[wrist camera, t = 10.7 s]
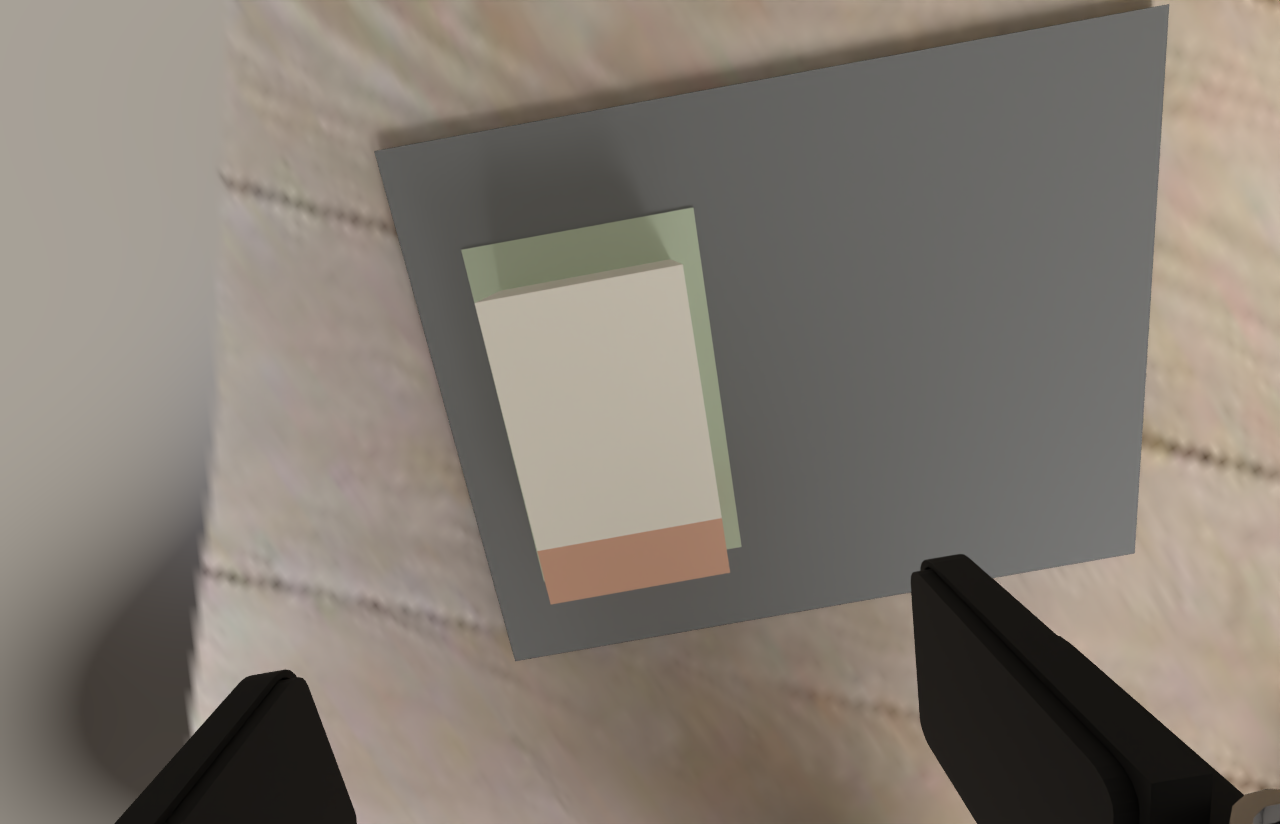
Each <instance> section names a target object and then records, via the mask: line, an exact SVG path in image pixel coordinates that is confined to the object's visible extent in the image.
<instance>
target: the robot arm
mask: <svg viewBox="0 0 1280 824" xmlns="http://www.w3.org/2000/svg"><path fill="white" fill-rule="evenodd" d="M911 595H912V610H913V624H914V639H915V654H916V668H917V683H918V698H919V712H920V722H921V726H922V730H923V733H924V736H925V738H926V741H927V743H928V745H929V747H930V748H931V750H932V752H933V753H934V755H935V756H936V758H937V760H938V761H939V763H940V765H941V766H942V768H943V769H944V771H945V773H946V774H947V776H948V777H949V779H950V781H951V782H952V784H953V785H954V787H955V789H956V790H957V792H958V794H959V795H960V797H961V798H962V800H963V802H964V803H965V805H966V806H967V808H968V810H969V811H970V813H971V814H972V816H973V818H974V819H975V821H976V823H977V824H1280V789H1265V790H1261V791H1257V792H1253V793H1249V794H1245V795H1243V794H1242V793H1241V792H1240V791H1239V790H1238V789H1236V788H1235V787H1234V786H1233V785H1232V784H1231V783H1230V782H1228V781H1227V780H1226V779H1225V778H1224V777H1223V776H1222V775H1220V774H1219V773H1218V772H1217V771H1216V770H1215V769H1214V768H1212V767H1211V766H1210V765H1209V764H1208V763H1207V762H1206V761H1204V760H1203V759H1202V758H1201V757H1200V756H1199V755H1198V754H1196V753H1195V752H1194V751H1193V750H1192V749H1191V748H1190V747H1188V746H1187V745H1186V744H1185V743H1184V742H1183V741H1182V740H1180V739H1179V738H1178V737H1177V736H1176V735H1175V734H1173V733H1172V732H1171V731H1170V730H1169V729H1168V728H1167V727H1165V726H1164V725H1163V724H1162V723H1161V722H1160V721H1159V720H1157V719H1156V718H1155V717H1154V716H1153V715H1152V714H1151V713H1149V712H1148V711H1147V710H1146V709H1145V708H1144V707H1143V706H1141V705H1140V704H1139V703H1138V702H1137V701H1136V700H1135V699H1133V698H1132V697H1131V696H1130V695H1129V694H1128V693H1127V692H1125V691H1124V690H1123V689H1122V688H1121V687H1120V686H1119V685H1117V684H1116V683H1115V682H1114V681H1113V680H1112V679H1111V678H1109V677H1108V676H1107V675H1106V674H1105V673H1104V672H1103V671H1101V670H1100V669H1099V668H1098V667H1097V666H1096V665H1095V664H1093V663H1092V662H1091V661H1090V660H1089V659H1088V658H1087V657H1085V656H1084V655H1083V654H1082V653H1081V652H1080V651H1078V650H1077V649H1076V648H1075V647H1074V646H1073V645H1072V644H1070V643H1069V642H1068V641H1066V640H1065V639H1063V638H1062V637H1060V636H1057V635H1056V634H1055V633H1054V632H1053V631H1052V630H1050V629H1049V628H1048V627H1047V626H1046V625H1045V624H1044V623H1043V622H1041V621H1040V620H1039V619H1038V618H1037V617H1036V616H1035V615H1033V614H1032V613H1031V612H1030V611H1029V610H1028V609H1027V608H1026V607H1024V606H1023V605H1022V604H1021V603H1020V602H1019V601H1018V600H1016V599H1015V598H1014V597H1013V596H1012V595H1011V594H1010V593H1009V592H1007V591H1006V590H1005V589H1004V588H1003V587H1002V586H1001V585H999V584H998V583H997V582H996V581H995V580H994V579H993V578H992V577H990V576H989V575H988V574H987V573H986V572H985V571H984V570H982V569H981V568H980V567H979V566H978V565H977V564H976V563H974V562H973V561H972V560H971V559H970V558H969V557H967V556H966V555H964V554H956V555H950V556H944V557H939V558H933V559H927V560H924V561H923V562H922V564H921V567H920V571H916V572H913V573H912V575H911ZM115 824H357V822H356V814H355V811H354V808H353V805H352V803H351V800H350V797H349V794H348V792H347V789H346V786H345V784H344V781H343V778H342V776H341V773H340V770H339V768H338V765H337V762H336V760H335V757H334V754H333V751H332V749H331V746H330V743H329V741H328V738H327V735H326V733H325V730H324V727H323V725H322V722H321V719H320V717H319V714H318V711H317V708H316V706H315V703H314V700H313V698H312V695H311V692H310V690H309V687H308V685H307V683H306V681H305V680H304V679H303V678H299V677H298V678H297V677H296V675H295V674H294V673H293V672H292V671H290V670H280V671H275V672H269V673H263V674H257V675H252V676H248V677H246V678H244V679H243V680H242V681H241V682H240V683H239V684H238V685H237V686H236V687H235V688H234V690H233V691H232V692H231V693H230V694H229V695H228V696H227V697H226V699H225V700H224V701H223V702H222V703H221V704H220V705H219V706H218V708H217V709H216V710H215V711H214V712H213V713H212V714H211V716H210V717H209V718H208V719H207V720H206V721H205V722H204V723H203V725H202V726H201V727H200V728H199V729H198V730H197V731H196V732H195V734H194V735H193V736H192V737H191V738H190V739H189V740H188V741H187V743H186V744H185V745H184V746H183V747H182V748H181V749H180V751H179V752H178V753H177V754H176V755H175V756H174V757H173V758H172V759H171V761H170V762H169V763H168V764H167V765H166V766H165V767H164V769H163V770H162V771H161V772H160V773H159V774H158V775H157V776H156V777H155V779H154V780H153V781H152V782H151V783H150V784H149V785H148V786H147V788H146V789H145V790H144V791H143V792H142V793H141V794H140V796H139V797H138V798H137V799H136V800H135V801H134V802H133V803H132V804H131V806H130V807H129V808H128V809H127V810H126V811H125V812H124V814H123V815H122V816H121V817H120V818H119V819H118V820H117V821H116V823H115Z"/></svg>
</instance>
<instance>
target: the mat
mask: <svg viewBox="0 0 1280 824" xmlns="http://www.w3.org/2000/svg"><path fill="white" fill-rule="evenodd" d="M1168 15H1169V4H1168V5H1162V6H1157V7H1151V8H1146V9H1141V10H1135V11H1130V12H1124V13H1119V14H1114V15H1108V16H1103V17H1097V18H1092V19H1086V20H1081V21H1076V22H1070V23H1065V24H1059V25H1054V26H1049V27H1043V28H1038V29H1032V30H1027V31H1022V32H1016V33H1011V34H1005V35H1000V36H995V37H989V38H984V39H978V40H973V41H967V42H962V43H957V44H951V45H946V46H940V47H935V48H930V49H924V50H919V51H913V52H908V53H903V54H897V55H892V56H886V57H881V58H876V59H870V60H865V61H859V62H854V63H848V64H843V65H838V66H832V67H827V68H821V69H816V70H811V71H805V72H800V73H794V74H789V75H784V76H778V77H773V78H767V79H762V80H757V81H751V82H746V83H740V84H735V85H730V86H724V87H719V88H713V89H708V90H702V91H697V92H692V93H686V94H681V95H675V96H670V97H665V98H659V99H654V100H648V101H643V102H638V103H632V104H627V105H621V106H616V107H611V108H605V109H600V110H594V111H589V112H583V113H578V114H573V115H567V116H562V117H556V118H551V119H546V120H540V121H535V122H529V123H524V124H519V125H513V126H508V127H502V128H497V129H492V130H486V131H481V132H475V133H470V134H465V135H459V136H454V137H448V138H443V139H437V140H432V141H427V142H421V143H416V144H410V145H405V146H400V147H394V148H389V149H383V150H378V151H374V152H375V156H376V159H377V163H378V167H379V170H380V174H381V177H382V181H383V185H384V188H385V192H386V196H387V199H388V203H389V206H390V210H391V214H392V217H393V221H394V224H395V228H396V232H397V235H398V239H399V243H400V246H401V250H402V253H403V257H404V261H405V264H406V268H407V271H408V275H409V279H410V282H411V286H412V290H413V293H414V297H415V300H416V304H417V308H418V311H419V315H420V318H421V322H422V326H423V329H424V333H425V337H426V340H427V344H428V347H429V351H430V355H431V358H432V362H433V365H434V369H435V373H436V376H437V380H438V384H439V387H440V391H441V394H442V398H443V402H444V405H445V409H446V412H447V416H448V420H449V423H450V427H451V431H452V434H453V438H454V441H455V445H456V449H457V452H458V456H459V459H460V463H461V467H462V470H463V474H464V478H465V481H466V485H467V488H468V492H469V496H470V499H471V503H472V506H473V510H474V514H475V517H476V521H477V525H478V528H479V532H480V535H481V539H482V543H483V546H484V550H485V553H486V557H487V561H488V564H489V568H490V571H491V575H492V579H493V582H494V586H495V590H496V593H497V597H498V600H499V604H500V608H501V611H502V615H503V618H504V622H505V626H506V629H507V633H508V637H509V640H510V644H511V647H512V651H513V655H514V658H515V661H519V660H525V659H531V658H537V657H542V656H548V655H554V654H560V653H565V652H571V651H577V650H582V649H588V648H594V647H600V646H605V645H611V644H617V643H623V642H628V641H634V640H640V639H646V638H651V637H657V636H663V635H669V634H674V633H680V632H686V631H692V630H697V629H703V628H709V627H715V626H720V625H726V624H732V623H738V622H743V621H749V620H755V619H760V618H766V617H772V616H778V615H783V614H789V613H795V612H801V611H806V610H812V609H818V608H824V607H829V606H835V605H841V604H847V603H852V602H858V601H864V600H870V599H875V598H881V597H887V596H893V595H898V594H904V593H910V592H911V575H912V573H913V572H916V571H920V567H921V564H922V562H923V561H924V560H927V559H933V558H939V557H944V556H950V555H956V554H964V555H966V556H967V557H969V558H970V559H971V560H972V561H973V562H974V563H976V564H977V565H978V566H979V567H980V568H981V569H982V570H984V571H985V572H986V573H987V574H988V575H989V576H990V577H992V578H996V577H1002V576H1007V575H1013V574H1019V573H1025V572H1030V571H1036V570H1042V569H1048V568H1053V567H1059V566H1065V565H1071V564H1076V563H1082V562H1088V561H1093V560H1099V559H1105V558H1111V557H1116V556H1122V555H1128V554H1134V553H1135V540H1136V524H1137V508H1138V492H1139V476H1140V460H1141V444H1142V428H1143V412H1144V397H1145V381H1146V365H1147V349H1148V333H1149V317H1150V301H1151V285H1152V269H1153V253H1154V237H1155V222H1156V206H1157V190H1158V174H1159V158H1160V142H1161V126H1162V110H1163V94H1164V78H1165V63H1166V47H1167V31H1168ZM668 259H671V260H674V261H676V262H678V263H681V264H683V269H684V275H685V282H686V288H687V295H688V301H689V308H690V314H691V321H692V327H693V334H694V340H695V347H696V353H697V360H698V366H699V373H700V379H701V386H702V392H703V399H704V405H705V412H706V418H707V425H708V431H709V438H710V444H711V451H712V457H713V464H714V470H715V477H716V483H717V490H718V496H719V503H720V509H721V516H722V522H723V529H724V535H725V542H726V548H727V555H728V561H729V568H730V573H725V574H720V575H714V576H708V577H703V578H697V579H692V580H686V581H680V582H675V583H669V584H663V585H658V586H652V587H647V588H641V589H635V590H630V591H624V592H619V593H613V594H607V595H602V596H596V597H590V598H585V599H579V600H574V601H568V602H562V603H557V604H550V600H549V596H548V592H547V588H546V584H545V580H544V576H543V572H542V568H541V564H540V560H539V556H538V552H537V548H536V544H535V540H534V536H533V532H532V528H531V525H530V521H529V517H528V513H527V509H526V505H525V501H524V497H523V493H522V489H521V485H520V481H519V477H518V473H517V469H516V465H515V461H514V457H513V453H512V449H511V445H510V442H509V438H508V434H507V430H506V426H505V422H504V418H503V414H502V410H501V406H500V402H499V398H498V394H497V390H496V386H495V382H494V378H493V374H492V370H491V366H490V362H489V359H488V355H487V351H486V347H485V343H484V339H483V335H482V331H481V327H480V323H479V319H478V315H477V311H476V307H475V302H478V301H480V300H482V299H484V298H486V297H488V296H490V295H492V294H494V293H496V292H498V291H501V290H506V289H512V288H517V287H523V286H528V285H533V284H539V283H544V282H550V281H555V280H560V279H566V278H571V277H577V276H582V275H587V274H593V273H598V272H604V271H609V270H614V269H620V268H625V267H631V266H636V265H641V264H647V263H652V262H658V261H663V260H668Z"/></svg>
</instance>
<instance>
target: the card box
mask: <svg viewBox="0 0 1280 824" xmlns="http://www.w3.org/2000/svg"><path fill="white" fill-rule="evenodd" d="M475 307H476V311H477V315H478V319H479V323H480V327H481V331H482V335H483V339H484V343H485V347H486V351H487V355H488V359H489V362H490V366H491V370H492V374H493V378H494V382H495V386H496V390H497V394H498V398H499V402H500V406H501V410H502V414H503V418H504V422H505V426H506V430H507V434H508V438H509V442H510V445H511V449H512V453H513V457H514V461H515V465H516V469H517V473H518V477H519V481H520V485H521V489H522V493H523V497H524V501H525V505H526V509H527V513H528V517H529V521H530V525H531V528H532V532H533V536H534V540H535V544H536V548H537V552H538V556H539V560H540V564H541V568H542V572H543V576H544V580H545V584H546V588H547V592H548V596H549V600H550V604H557V603H562V602H568V601H574V600H579V599H585V598H590V597H596V596H602V595H607V594H613V593H619V592H624V591H630V590H635V589H641V588H647V587H652V586H658V585H663V584H669V583H675V582H680V581H686V580H692V579H697V578H703V577H708V576H714V575H720V574H725V573H730V568H729V561H728V555H727V548H726V542H725V535H724V529H723V522H722V516H721V509H720V503H719V496H718V490H717V483H716V477H715V470H714V464H713V457H712V451H711V444H710V438H709V431H708V425H707V418H706V412H705V405H704V399H703V392H702V386H701V379H700V373H699V366H698V360H697V353H696V347H695V340H694V334H693V327H692V321H691V314H690V308H689V301H688V295H687V288H686V282H685V275H684V269H683V264H681V263H678V262H676V261H674V260H671V259H668V260H663V261H658V262H652V263H647V264H641V265H636V266H631V267H625V268H620V269H614V270H609V271H604V272H598V273H593V274H587V275H582V276H577V277H571V278H566V279H560V280H555V281H550V282H544V283H539V284H533V285H528V286H523V287H517V288H512V289H506V290H501V291H498V292H496V293H494V294H492V295H490V296H488V297H486V298H484V299H482V300H480V301H478V302H475Z"/></svg>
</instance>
